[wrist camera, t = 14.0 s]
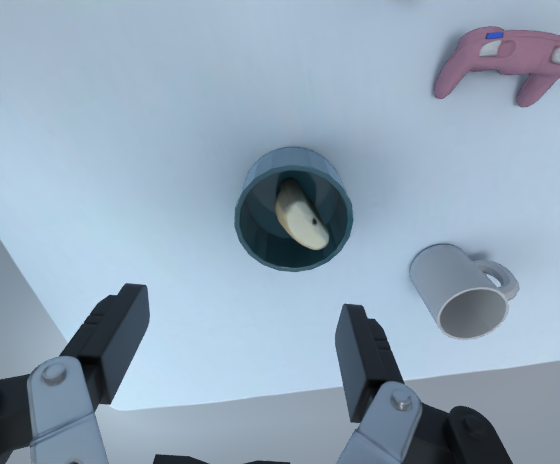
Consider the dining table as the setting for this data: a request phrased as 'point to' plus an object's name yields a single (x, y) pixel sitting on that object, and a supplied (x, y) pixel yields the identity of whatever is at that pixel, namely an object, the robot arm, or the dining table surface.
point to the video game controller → (505, 60)
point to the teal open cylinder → (263, 220)
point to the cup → (462, 291)
